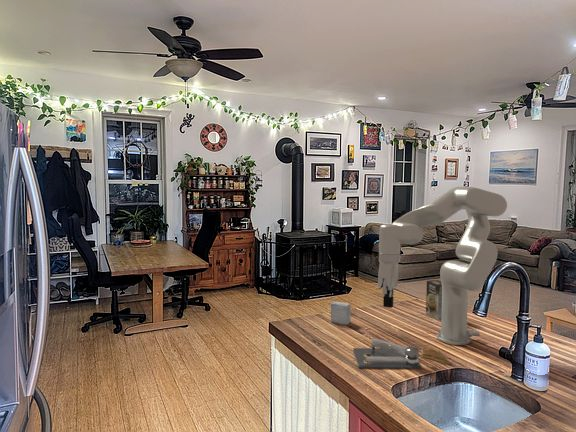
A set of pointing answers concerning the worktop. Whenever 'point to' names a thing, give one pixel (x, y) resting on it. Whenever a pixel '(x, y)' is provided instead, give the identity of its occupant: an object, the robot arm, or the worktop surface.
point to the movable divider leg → (396, 348)
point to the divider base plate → (379, 354)
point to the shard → (434, 355)
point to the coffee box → (434, 299)
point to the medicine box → (340, 313)
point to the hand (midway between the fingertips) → (388, 306)
